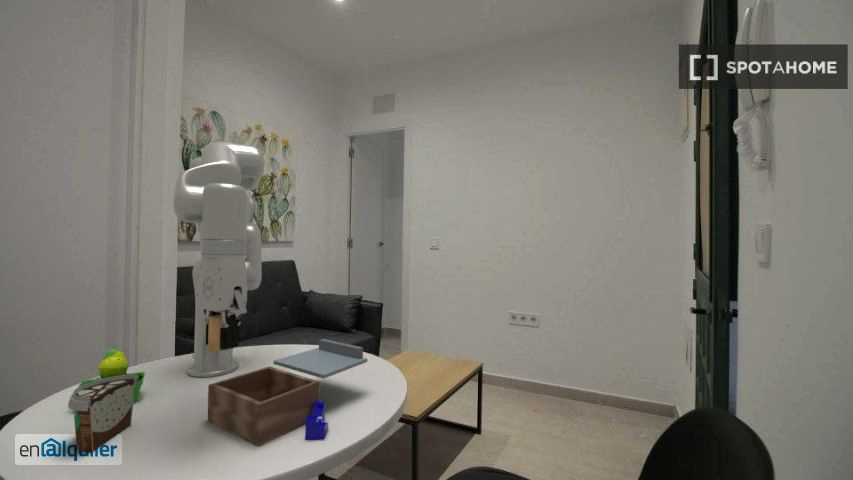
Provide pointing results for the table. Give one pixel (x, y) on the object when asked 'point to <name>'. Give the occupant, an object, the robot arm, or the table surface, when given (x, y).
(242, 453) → the table surface
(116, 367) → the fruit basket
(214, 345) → the peg
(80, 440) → the food container
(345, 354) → the lid
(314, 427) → the cable holder
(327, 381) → the table surface
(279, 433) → the housing
